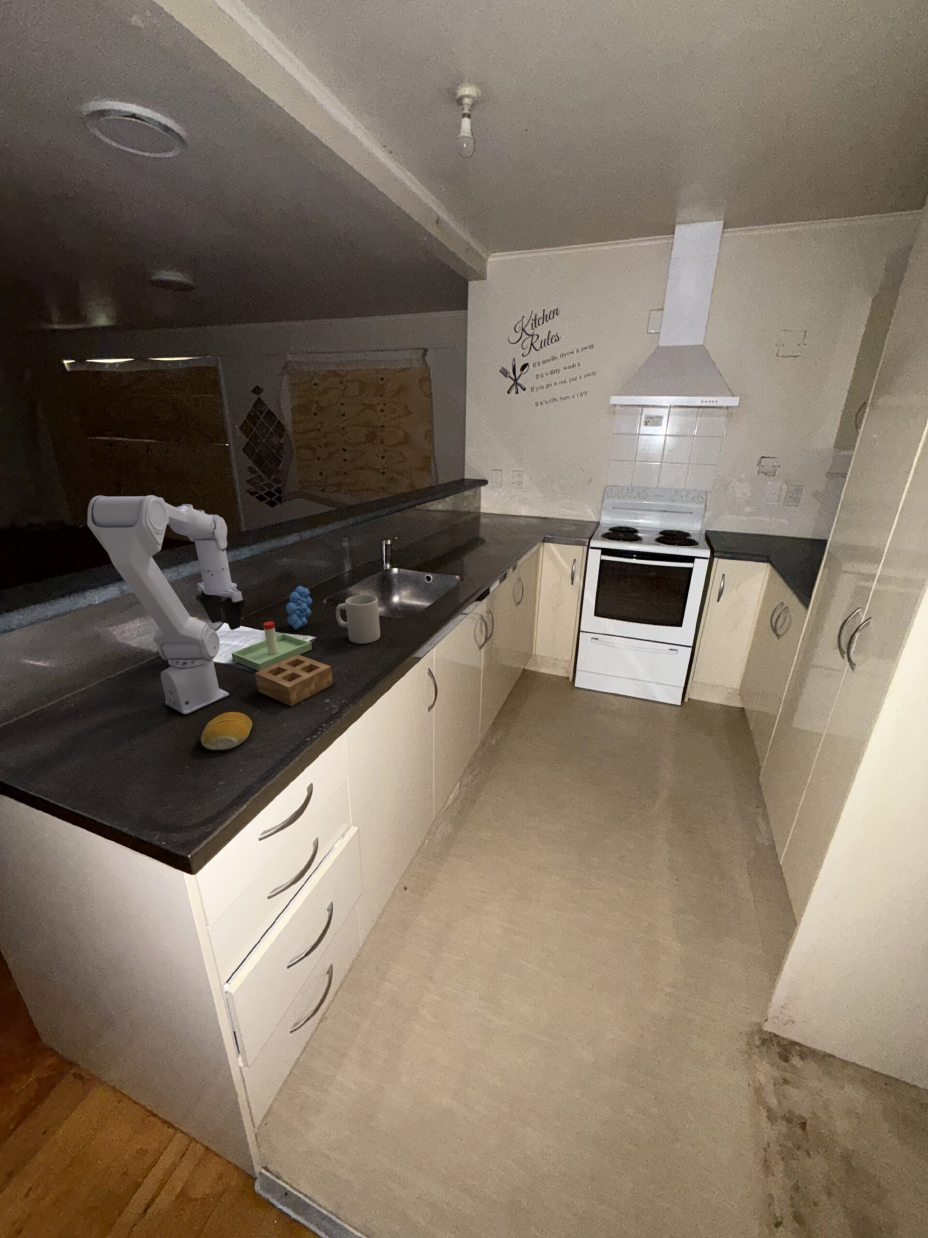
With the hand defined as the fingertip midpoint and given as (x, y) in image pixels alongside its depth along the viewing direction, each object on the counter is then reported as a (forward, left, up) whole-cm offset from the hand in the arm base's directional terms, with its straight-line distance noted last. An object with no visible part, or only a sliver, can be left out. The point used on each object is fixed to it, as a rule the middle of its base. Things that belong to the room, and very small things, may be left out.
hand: (225, 625), depth 113 cm
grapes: (+25, +7, -11) cm, 28 cm away
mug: (+29, -13, -11) cm, 34 cm away
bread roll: (-18, -27, -11) cm, 34 cm away
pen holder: (+1, -22, -10) cm, 24 cm away
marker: (+9, -3, -10) cm, 14 cm away
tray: (+9, -3, -10) cm, 14 cm away
